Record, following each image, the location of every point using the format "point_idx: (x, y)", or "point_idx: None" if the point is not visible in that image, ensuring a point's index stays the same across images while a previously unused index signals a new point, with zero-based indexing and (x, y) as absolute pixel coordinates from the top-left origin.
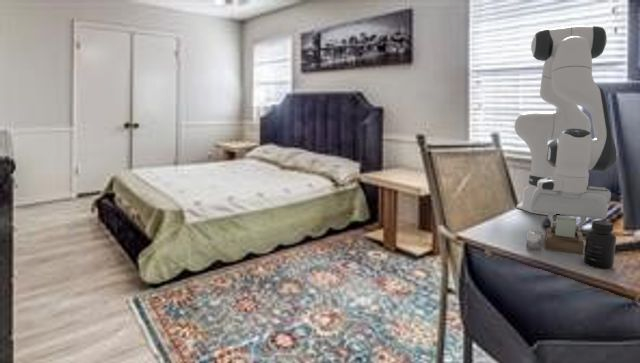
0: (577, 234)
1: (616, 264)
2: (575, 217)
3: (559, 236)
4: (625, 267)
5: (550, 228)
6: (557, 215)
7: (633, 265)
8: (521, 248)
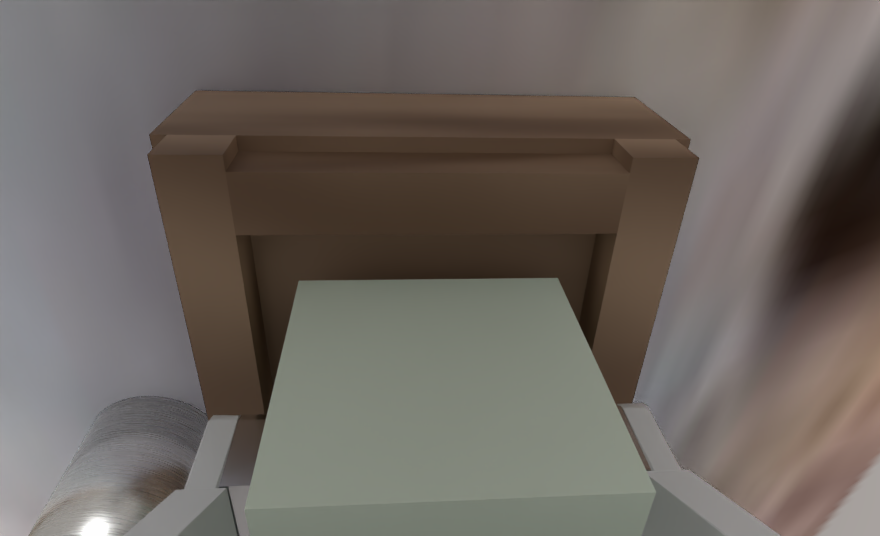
0: (596, 326)
1: (754, 488)
2: (652, 501)
3: None
4: (789, 510)
5: (214, 201)
6: (261, 521)
7: (870, 460)
8: None
